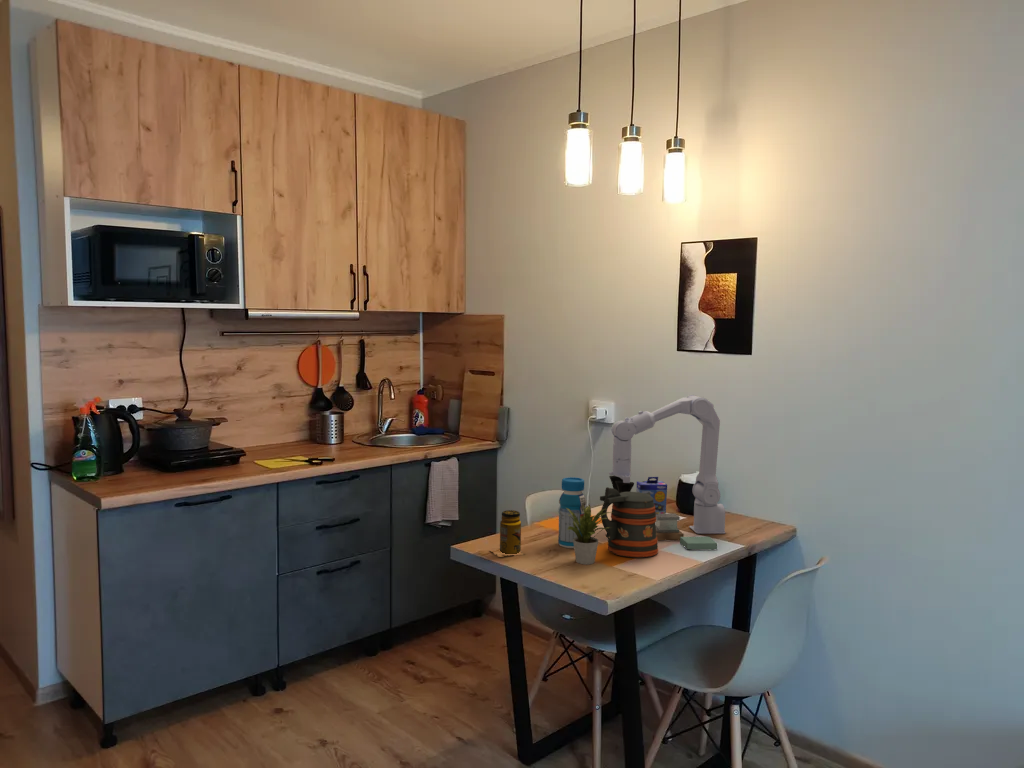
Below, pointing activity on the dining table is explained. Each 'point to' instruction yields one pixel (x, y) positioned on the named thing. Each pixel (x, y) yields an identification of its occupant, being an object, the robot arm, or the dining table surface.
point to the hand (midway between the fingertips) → (620, 500)
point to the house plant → (586, 535)
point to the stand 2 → (698, 542)
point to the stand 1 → (669, 536)
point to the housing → (667, 523)
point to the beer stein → (630, 523)
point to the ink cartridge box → (655, 492)
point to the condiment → (510, 532)
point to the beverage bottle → (574, 502)
